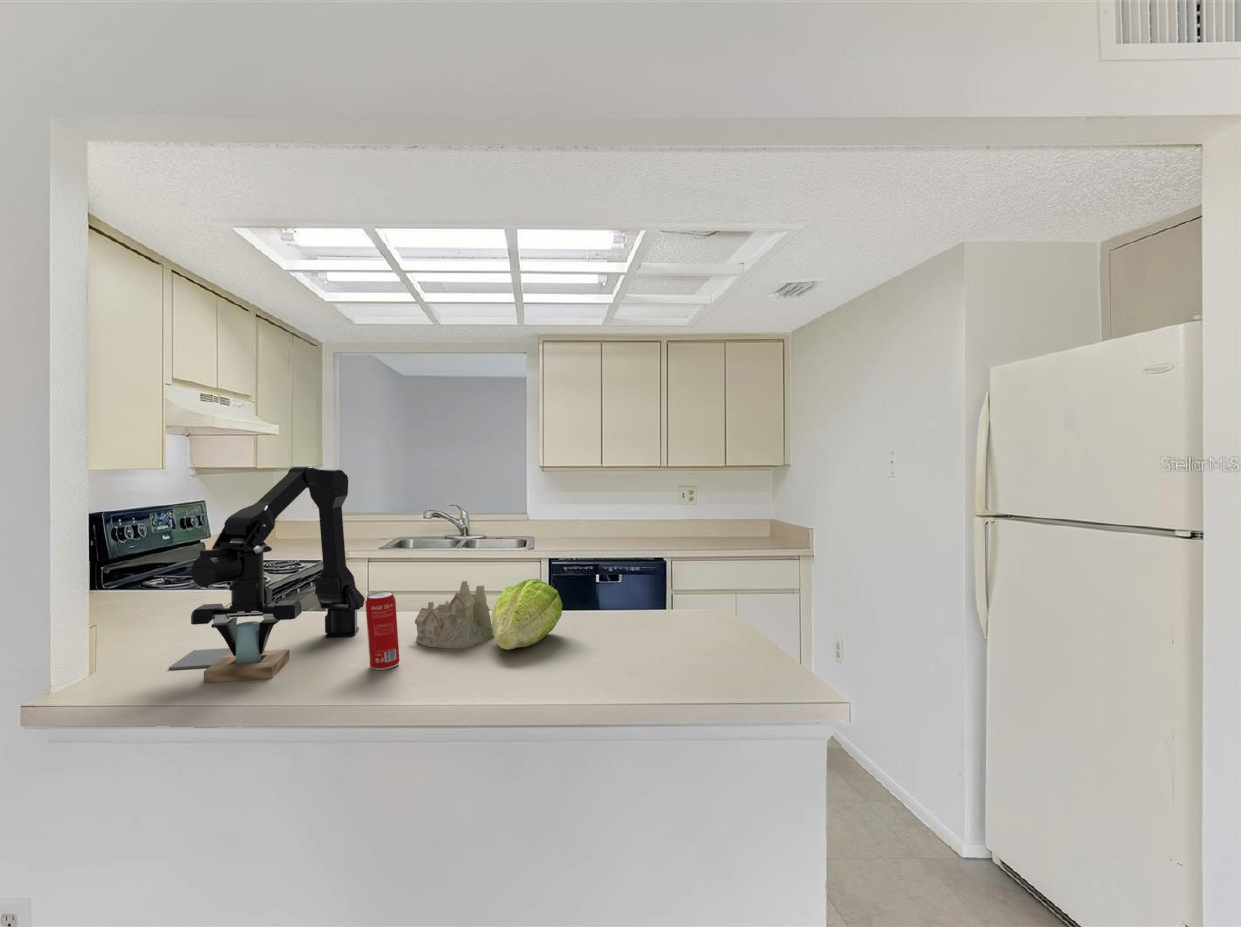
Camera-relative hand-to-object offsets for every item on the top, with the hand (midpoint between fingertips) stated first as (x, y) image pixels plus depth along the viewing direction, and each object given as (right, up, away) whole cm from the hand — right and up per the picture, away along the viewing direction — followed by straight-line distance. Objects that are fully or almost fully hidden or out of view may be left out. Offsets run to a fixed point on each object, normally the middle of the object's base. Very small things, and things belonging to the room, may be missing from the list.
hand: (248, 654), depth 134 cm
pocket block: (0, -3, 0) cm, 3 cm away
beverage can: (+26, -3, +2) cm, 26 cm away
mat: (-12, -3, +8) cm, 14 cm away
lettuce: (+52, -3, +18) cm, 56 cm away
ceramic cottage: (+36, -3, +23) cm, 43 cm away
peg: (0, -3, 0) cm, 3 cm away
